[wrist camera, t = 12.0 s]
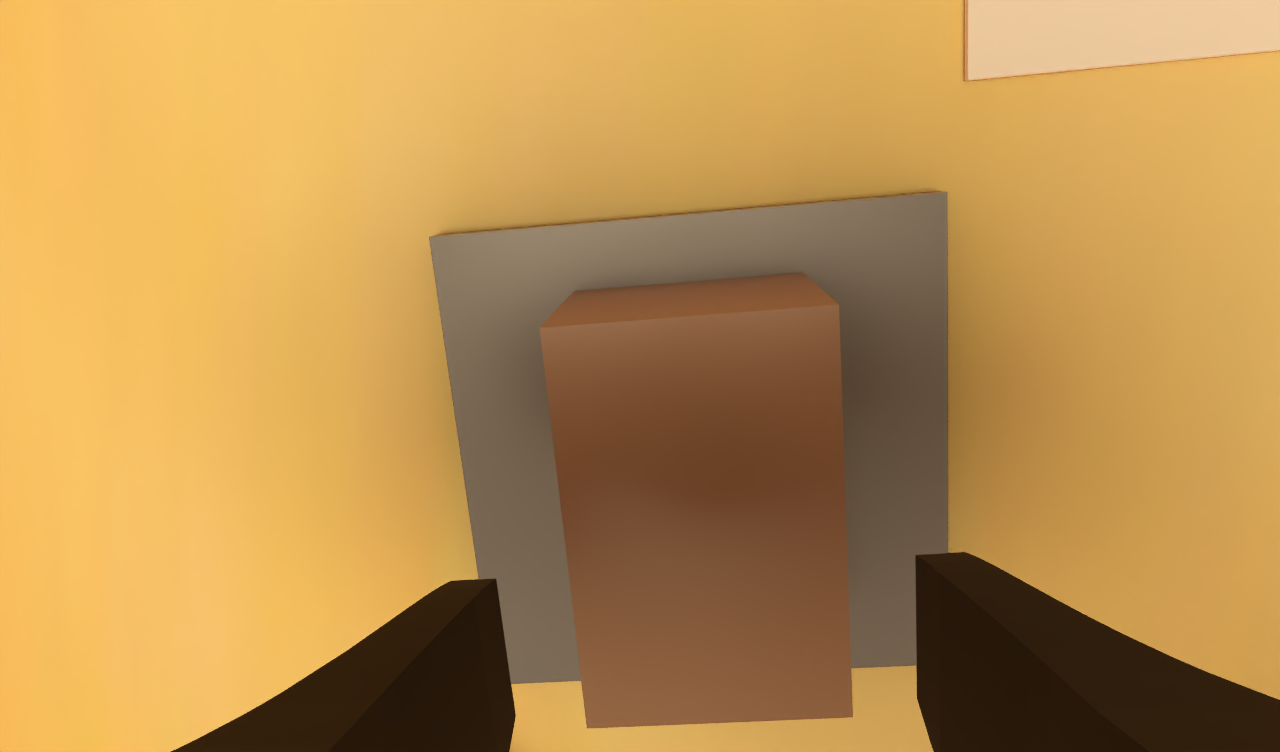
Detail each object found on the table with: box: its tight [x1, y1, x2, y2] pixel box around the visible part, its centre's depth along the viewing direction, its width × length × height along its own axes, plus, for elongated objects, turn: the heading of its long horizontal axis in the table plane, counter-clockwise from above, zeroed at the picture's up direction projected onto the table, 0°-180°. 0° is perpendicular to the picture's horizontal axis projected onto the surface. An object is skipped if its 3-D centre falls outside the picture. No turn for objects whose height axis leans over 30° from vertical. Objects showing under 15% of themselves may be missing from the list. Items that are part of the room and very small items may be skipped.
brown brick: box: [540, 272, 853, 728], centre depth 15 cm, size 4×7×4 cm, turn 5°
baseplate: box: [429, 191, 948, 684], centre depth 18 cm, size 10×10×1 cm
